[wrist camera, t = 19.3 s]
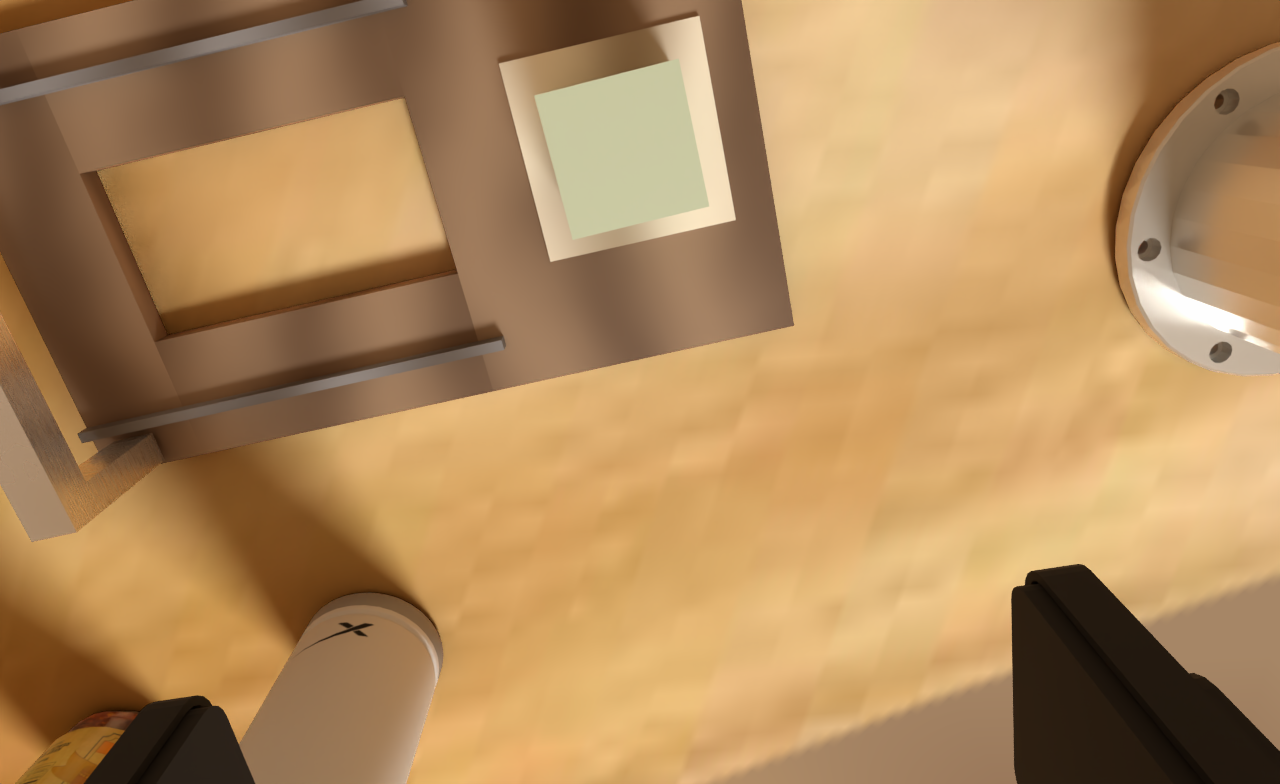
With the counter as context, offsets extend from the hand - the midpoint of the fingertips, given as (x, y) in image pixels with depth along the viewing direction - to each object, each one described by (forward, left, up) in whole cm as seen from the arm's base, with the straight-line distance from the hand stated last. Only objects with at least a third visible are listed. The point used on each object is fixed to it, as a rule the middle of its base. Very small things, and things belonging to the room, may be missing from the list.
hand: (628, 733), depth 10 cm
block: (-1, -5, -23) cm, 23 cm away
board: (+8, -5, -24) cm, 26 cm away
